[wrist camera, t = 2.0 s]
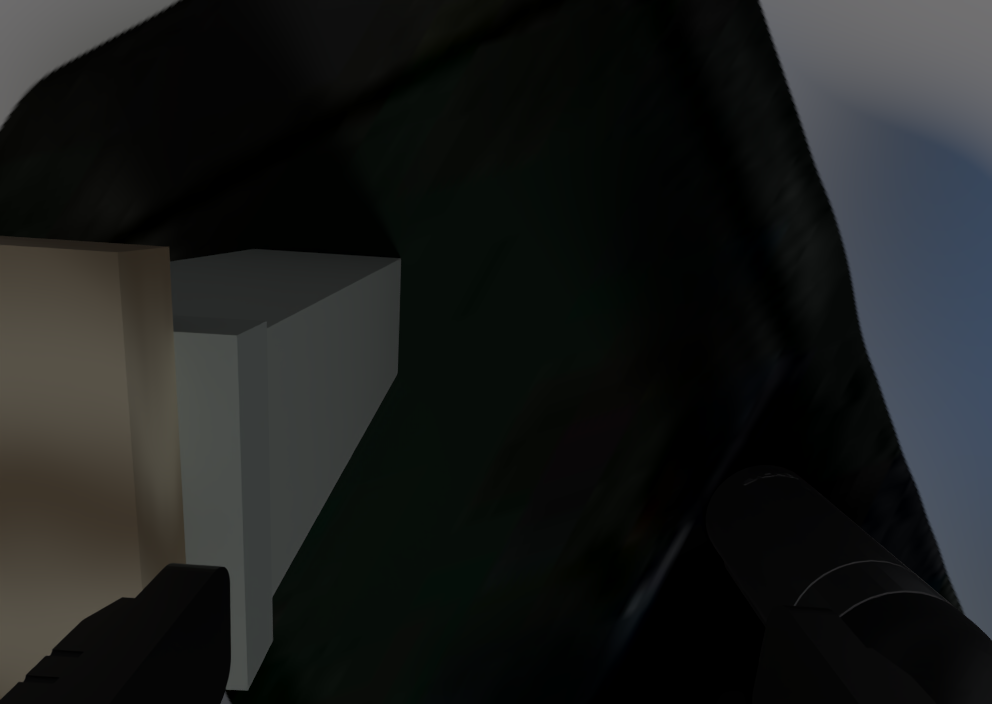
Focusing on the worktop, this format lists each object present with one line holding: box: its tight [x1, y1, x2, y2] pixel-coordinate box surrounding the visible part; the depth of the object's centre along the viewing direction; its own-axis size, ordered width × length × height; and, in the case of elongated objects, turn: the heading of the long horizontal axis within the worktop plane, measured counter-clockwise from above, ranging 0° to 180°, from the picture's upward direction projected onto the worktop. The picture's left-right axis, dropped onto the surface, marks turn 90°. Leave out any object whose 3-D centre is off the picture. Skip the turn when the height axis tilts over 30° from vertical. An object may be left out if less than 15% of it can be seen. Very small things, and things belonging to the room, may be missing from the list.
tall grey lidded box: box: [170, 249, 401, 690], centre depth 31 cm, size 10×12×32 cm
